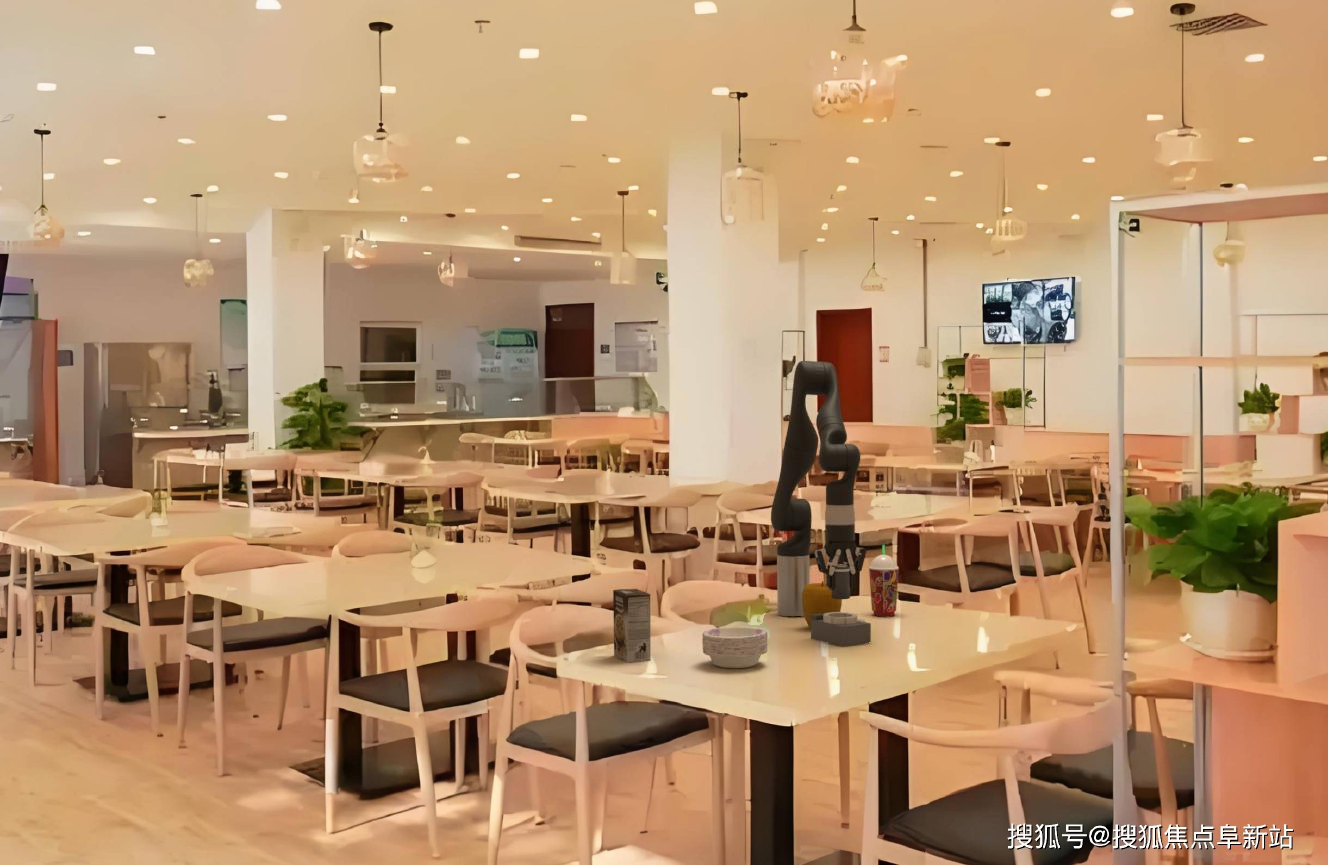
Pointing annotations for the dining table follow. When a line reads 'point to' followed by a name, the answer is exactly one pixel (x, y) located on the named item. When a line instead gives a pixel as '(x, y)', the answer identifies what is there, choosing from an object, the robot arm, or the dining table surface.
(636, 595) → the coffee box
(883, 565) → the smoothie
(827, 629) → the camera body
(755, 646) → the paper bowls
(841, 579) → the lens
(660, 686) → the dining table surface
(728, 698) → the dining table surface
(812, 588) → the apple
